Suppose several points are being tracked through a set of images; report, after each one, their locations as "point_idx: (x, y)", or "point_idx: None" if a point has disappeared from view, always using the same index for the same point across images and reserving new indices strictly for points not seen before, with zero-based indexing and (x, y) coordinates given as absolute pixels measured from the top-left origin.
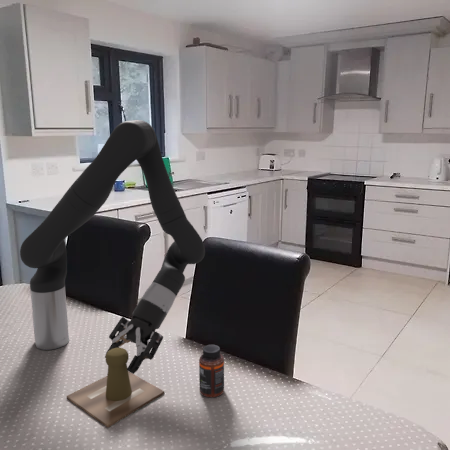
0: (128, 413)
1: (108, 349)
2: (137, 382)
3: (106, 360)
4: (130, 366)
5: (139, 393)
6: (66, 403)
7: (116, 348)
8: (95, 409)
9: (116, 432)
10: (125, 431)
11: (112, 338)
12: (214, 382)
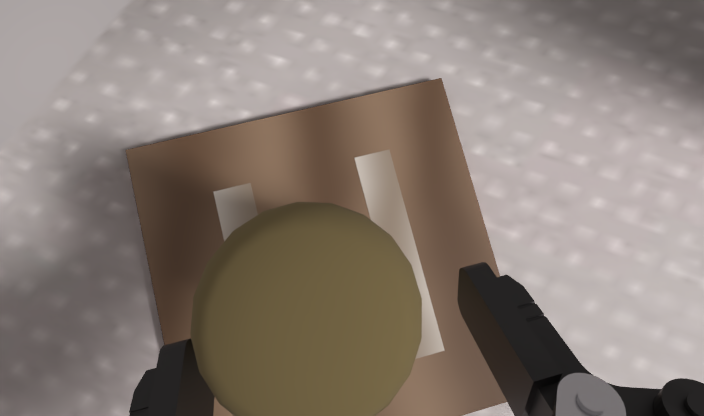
0: (149, 260)
1: (543, 314)
2: None
3: (304, 202)
4: (161, 373)
5: None
6: (401, 71)
7: (363, 346)
8: (265, 146)
9: (81, 171)
10: (61, 204)
11: (655, 408)
12: None
